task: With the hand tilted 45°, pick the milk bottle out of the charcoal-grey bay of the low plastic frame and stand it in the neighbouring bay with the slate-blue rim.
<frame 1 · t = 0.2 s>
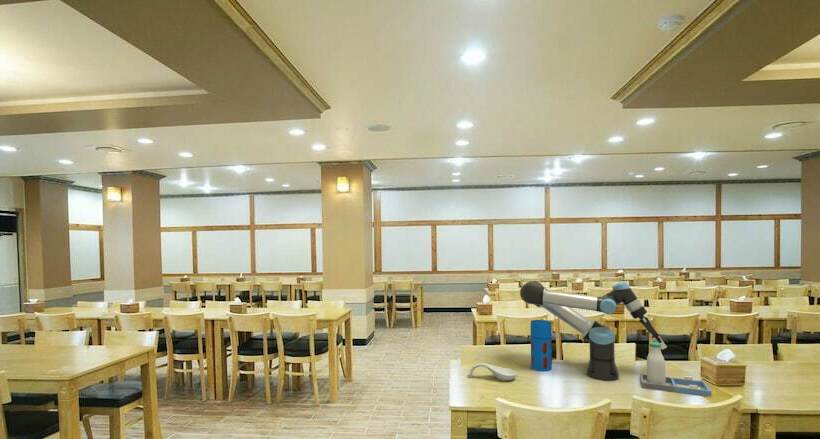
hand: (662, 345, 215), 15 cm above the table, tool tilted 35°, fingers open, 13 cm apart
thermos: (541, 368, 227), on the table
milk bottle: (656, 385, 201), resting in bay frame
spoon rest: (493, 379, 212), on the table
bay frame: (673, 387, 198), on the table
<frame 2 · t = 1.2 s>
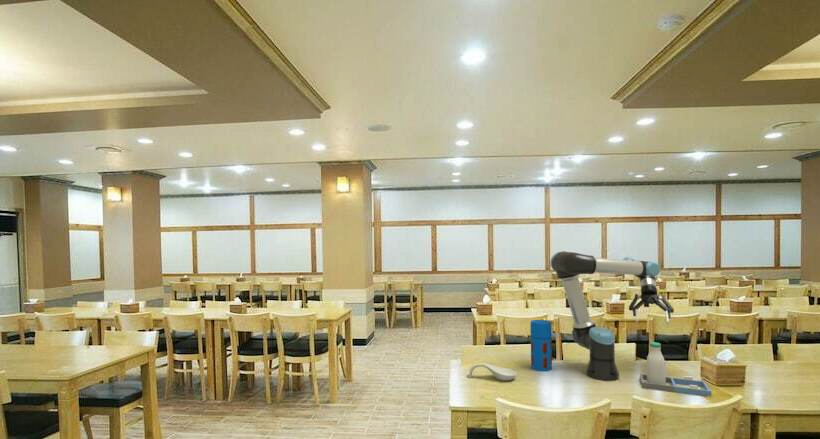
hand: (652, 322, 213), 28 cm above the table, tool tilted 45°, fingers open, 13 cm apart
nothing on the table moved.
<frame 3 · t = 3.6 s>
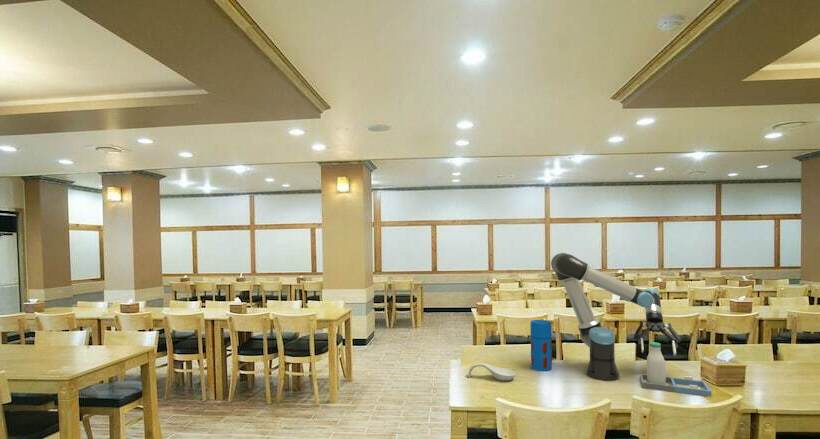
hand: (658, 352, 204), 15 cm above the table, tool tilted 45°, fingers open, 13 cm apart
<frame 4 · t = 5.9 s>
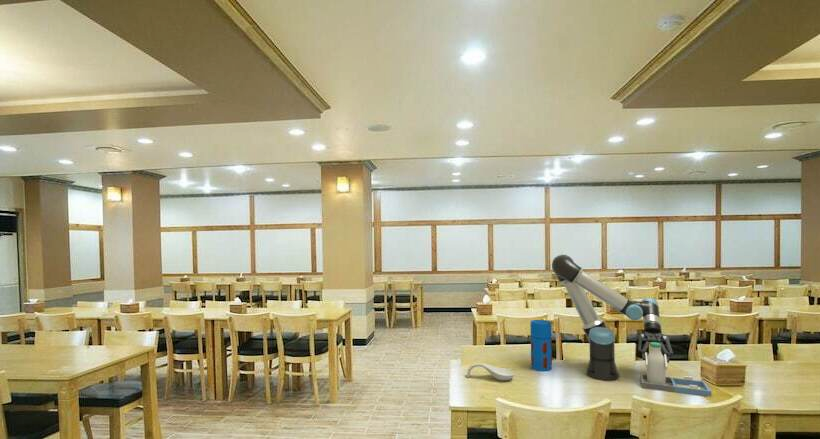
hand: (656, 367, 198), 10 cm above the table, tool tilted 45°, fingers closed on milk bottle, 7 cm apart
milk bottle: (656, 385, 201), resting in bay frame, touching gripper
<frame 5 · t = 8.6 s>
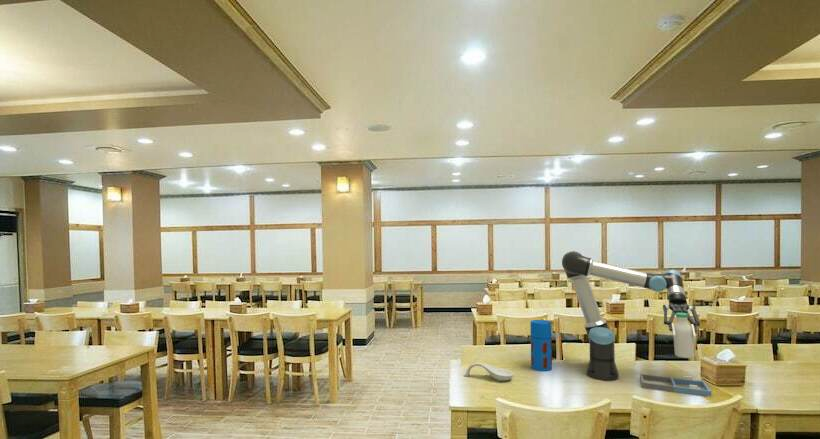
hand: (684, 337, 194), 25 cm above the table, tool tilted 45°, fingers closed on milk bottle, 7 cm apart
milk bottle: (684, 356, 197), point 15 cm above the table, touching gripper
when the fingers open (11 cm above the table, at t = 11.6 s): milk bottle drops 1 cm, resting in bay frame.
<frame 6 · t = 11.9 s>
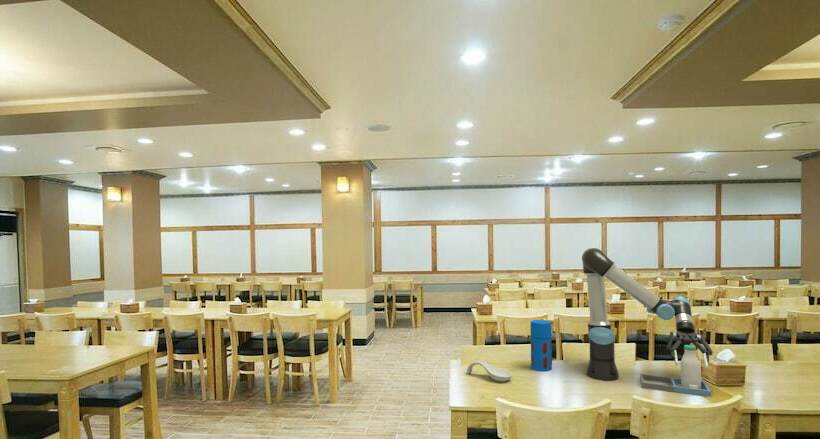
hand: (691, 365, 193), 12 cm above the table, tool tilted 45°, fingers open, 11 cm apart
milk bottle: (691, 389, 195), resting in bay frame
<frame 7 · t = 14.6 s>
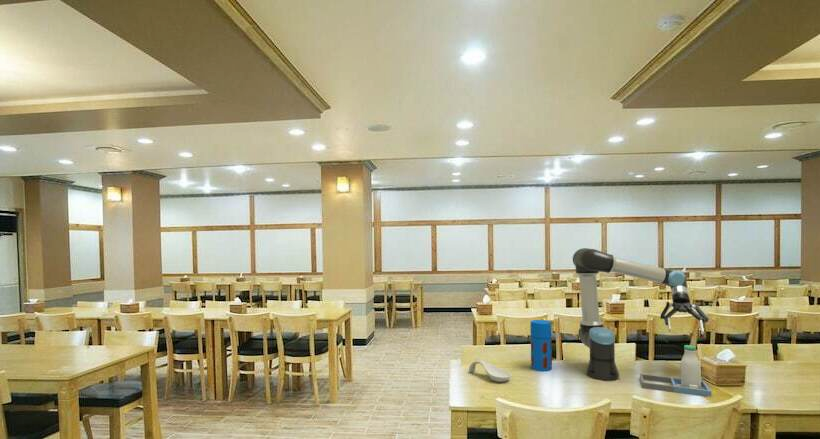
hand: (686, 331, 205), 25 cm above the table, tool tilted 45°, fingers open, 13 cm apart
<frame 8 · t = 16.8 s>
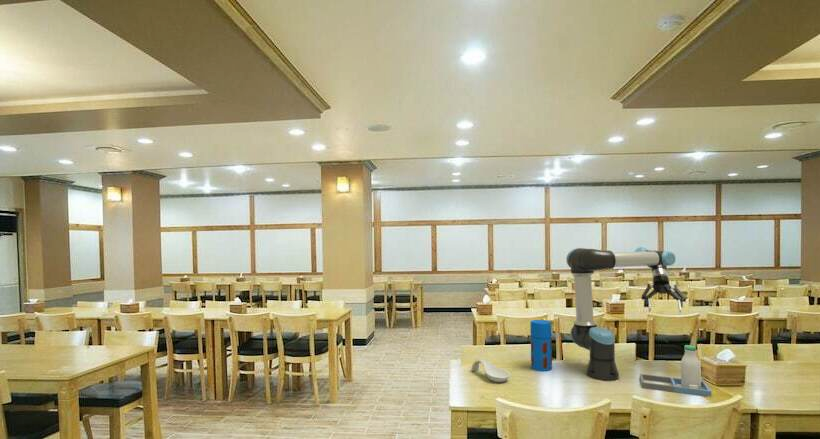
hand: (664, 310, 217), 33 cm above the table, tool tilted 45°, fingers open, 13 cm apart
at the end: milk bottle 0.2 cm from the target spot, resting in bay frame; milk bottle tilted 0°; the gripper is holding nothing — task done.
